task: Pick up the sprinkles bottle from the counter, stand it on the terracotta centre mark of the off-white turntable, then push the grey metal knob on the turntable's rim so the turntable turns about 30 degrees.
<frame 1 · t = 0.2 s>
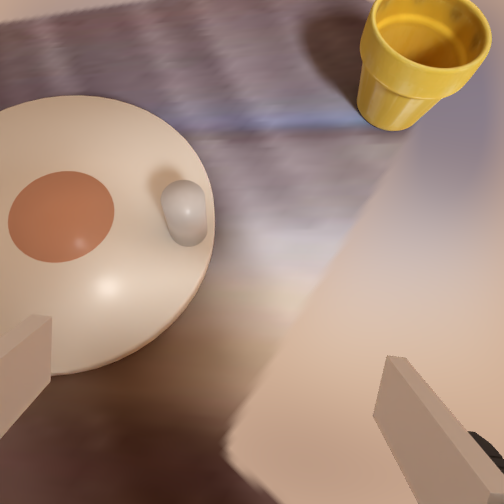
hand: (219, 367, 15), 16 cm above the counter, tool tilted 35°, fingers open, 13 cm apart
turntable: (55, 207, 30), point 4 cm above the counter, hinge at 0.0°
plant pot: (385, 107, 41), on the counter
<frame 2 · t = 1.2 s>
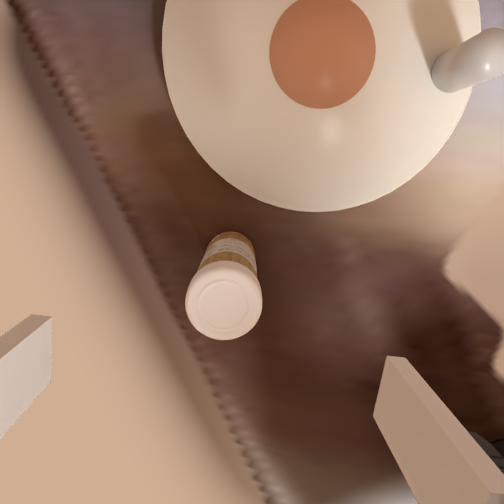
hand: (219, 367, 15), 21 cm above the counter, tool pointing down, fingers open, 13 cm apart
turntable: (325, 47, 28), point 4 cm above the counter, hinge at 0.0°
sprinkles bottle: (230, 254, 36), on the counter
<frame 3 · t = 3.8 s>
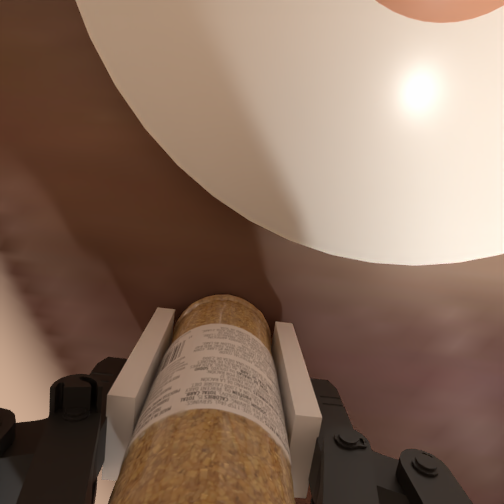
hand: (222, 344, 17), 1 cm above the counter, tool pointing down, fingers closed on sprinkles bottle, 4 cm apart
sprinkles bottle: (222, 335, 18), on the counter, touching gripper
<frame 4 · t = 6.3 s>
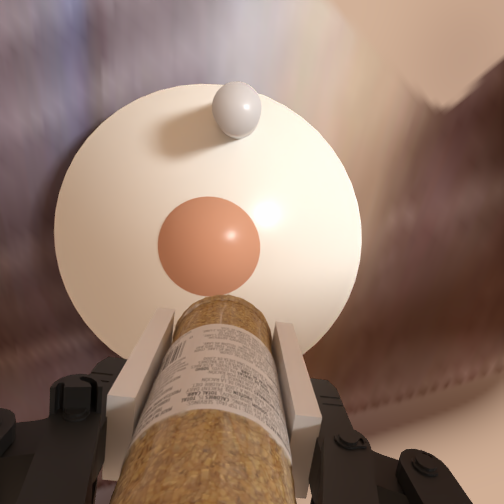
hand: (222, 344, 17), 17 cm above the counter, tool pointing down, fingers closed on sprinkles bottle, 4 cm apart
turntable: (207, 251, 29), point 4 cm above the counter, hinge at 0.0°
sprinkles bottle: (223, 335, 18), point 16 cm above the counter, touching gripper
when the fingers open (5 cm above the counter, at t = 8.9 s): sprinkles bottle drops 1 cm, resting on turntable.
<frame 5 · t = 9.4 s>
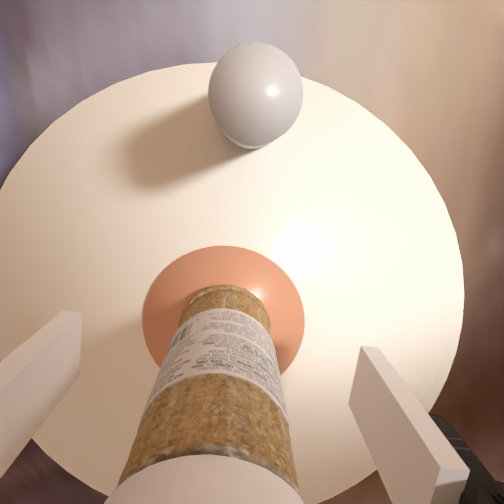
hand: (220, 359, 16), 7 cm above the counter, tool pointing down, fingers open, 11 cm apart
turntable: (222, 335, 18), point 4 cm above the counter, hinge at 0.0°, touching sprinkles bottle
sprinkles bottle: (225, 323, 19), point 3 cm above the counter, touching turntable
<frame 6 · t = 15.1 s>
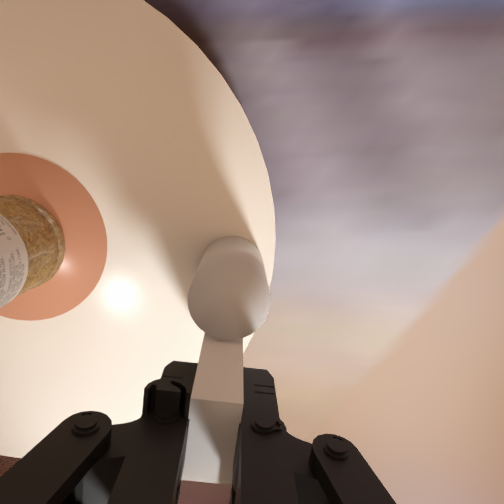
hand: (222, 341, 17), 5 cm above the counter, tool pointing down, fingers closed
turntable: (5, 245, 17), point 4 cm above the counter, hinge at 0.4°, touching gripper, sprinkles bottle
sprinkles bottle: (23, 241, 18), point 3 cm above the counter, touching turntable
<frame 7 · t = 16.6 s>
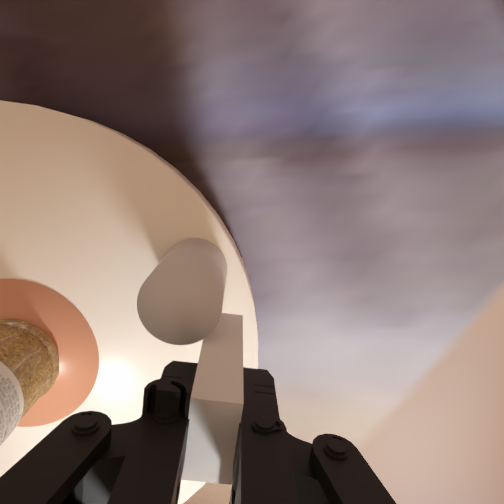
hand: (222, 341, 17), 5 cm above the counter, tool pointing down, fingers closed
turntable: (2, 368, 18), point 4 cm above the counter, hinge at 34.1°, touching gripper, sprinkles bottle
sprinkles bottle: (20, 355, 19), point 3 cm above the counter, touching turntable
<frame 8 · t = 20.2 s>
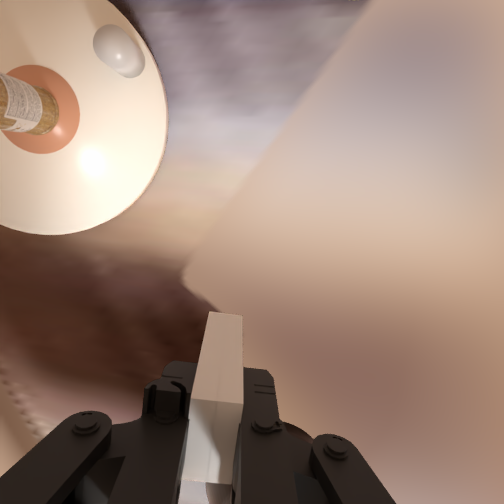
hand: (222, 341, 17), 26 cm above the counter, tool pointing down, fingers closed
turntable: (29, 108, 36), point 4 cm above the counter, hinge at 34.1°, touching sprinkles bottle
sprinkles bottle: (38, 111, 37), point 3 cm above the counter, touching turntable
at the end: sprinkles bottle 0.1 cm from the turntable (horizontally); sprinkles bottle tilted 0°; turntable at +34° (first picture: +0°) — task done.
